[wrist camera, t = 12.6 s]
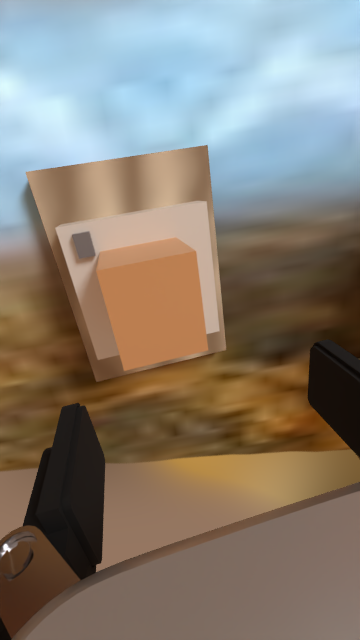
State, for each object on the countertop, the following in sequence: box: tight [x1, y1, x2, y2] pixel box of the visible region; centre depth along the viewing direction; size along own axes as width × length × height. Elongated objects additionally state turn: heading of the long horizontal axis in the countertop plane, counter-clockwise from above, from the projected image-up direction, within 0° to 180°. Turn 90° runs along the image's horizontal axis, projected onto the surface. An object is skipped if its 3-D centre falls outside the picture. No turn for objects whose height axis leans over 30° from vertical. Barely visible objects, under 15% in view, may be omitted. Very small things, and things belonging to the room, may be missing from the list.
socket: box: [55, 201, 220, 360], centre depth 28 cm, size 13×13×4 cm
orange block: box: [96, 237, 208, 371], centre depth 25 cm, size 7×8×9 cm
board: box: [26, 145, 226, 382], centre depth 31 cm, size 16×22×2 cm
